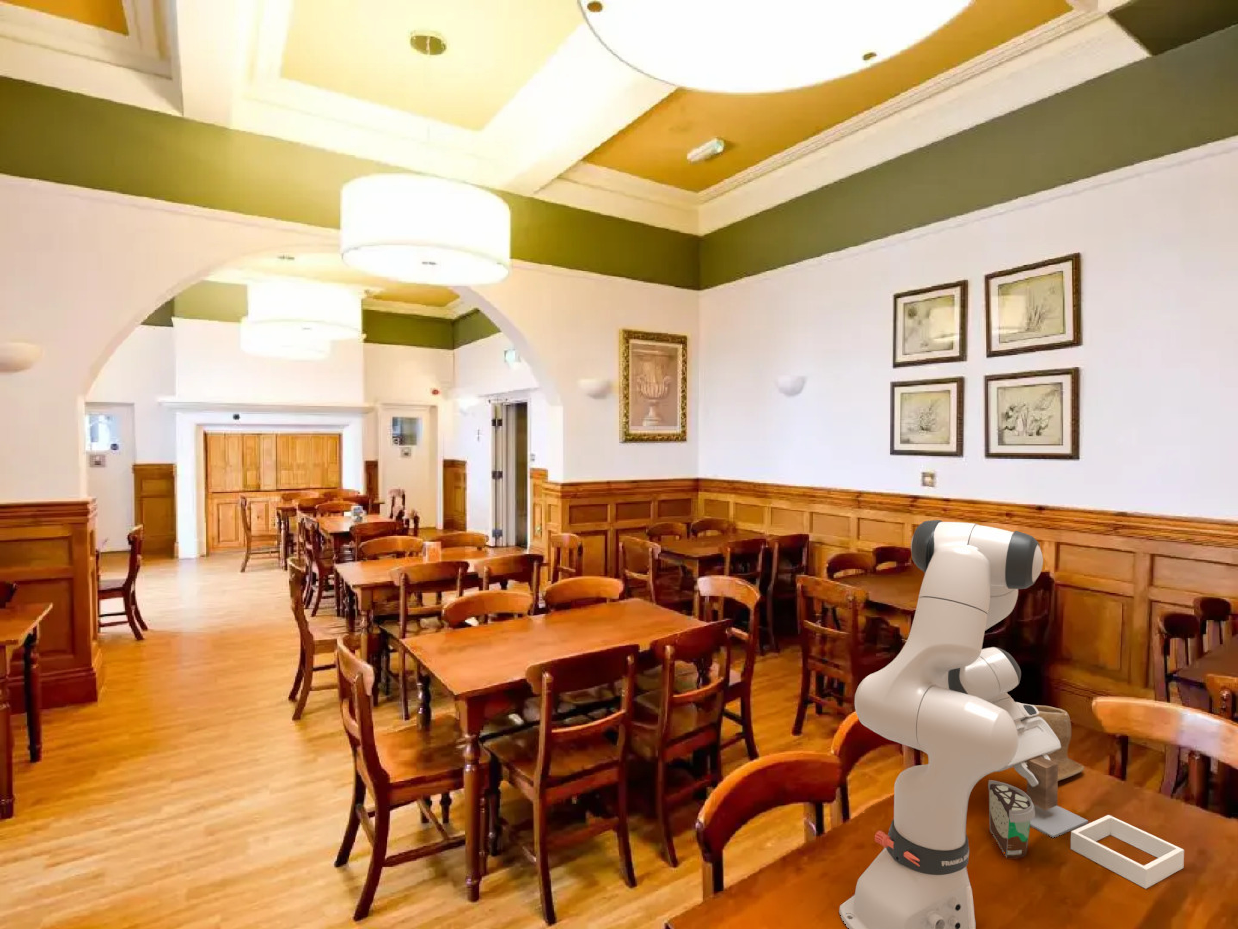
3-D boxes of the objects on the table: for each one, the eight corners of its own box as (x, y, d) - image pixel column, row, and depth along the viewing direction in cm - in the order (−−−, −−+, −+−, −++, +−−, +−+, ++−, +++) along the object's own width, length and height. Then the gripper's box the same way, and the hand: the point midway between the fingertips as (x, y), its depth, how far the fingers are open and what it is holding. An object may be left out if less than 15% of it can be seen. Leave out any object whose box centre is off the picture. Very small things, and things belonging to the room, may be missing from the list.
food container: (1045, 867, 125) (1046, 815, 124) (1009, 863, 126) (1010, 811, 125) (1019, 829, 137) (1020, 781, 136) (987, 825, 138) (988, 778, 138)
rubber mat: (1053, 838, 133) (1053, 836, 133) (996, 808, 144) (996, 806, 144) (1088, 822, 139) (1088, 820, 139) (1030, 795, 150) (1030, 792, 150)
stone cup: (1041, 753, 169) (1042, 695, 168) (1091, 775, 158) (1093, 713, 157) (1002, 767, 162) (1003, 706, 162) (1052, 790, 152) (1053, 726, 151)
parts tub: (1145, 888, 119) (1146, 869, 118) (1070, 849, 130) (1071, 831, 130) (1183, 868, 124) (1184, 849, 124) (1108, 831, 136) (1108, 814, 136)
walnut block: (1045, 810, 139) (1046, 768, 138) (1026, 801, 142) (1027, 759, 142) (1057, 805, 140) (1058, 764, 140) (1038, 796, 144) (1038, 755, 144)
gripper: (980, 722, 142) (1024, 788, 134) (1040, 704, 151) (1084, 765, 143) (961, 734, 147) (1003, 799, 138) (1020, 716, 155) (1062, 776, 147)
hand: (1045, 782), depth 141 cm, fingers closed on walnut block, 4 cm apart
